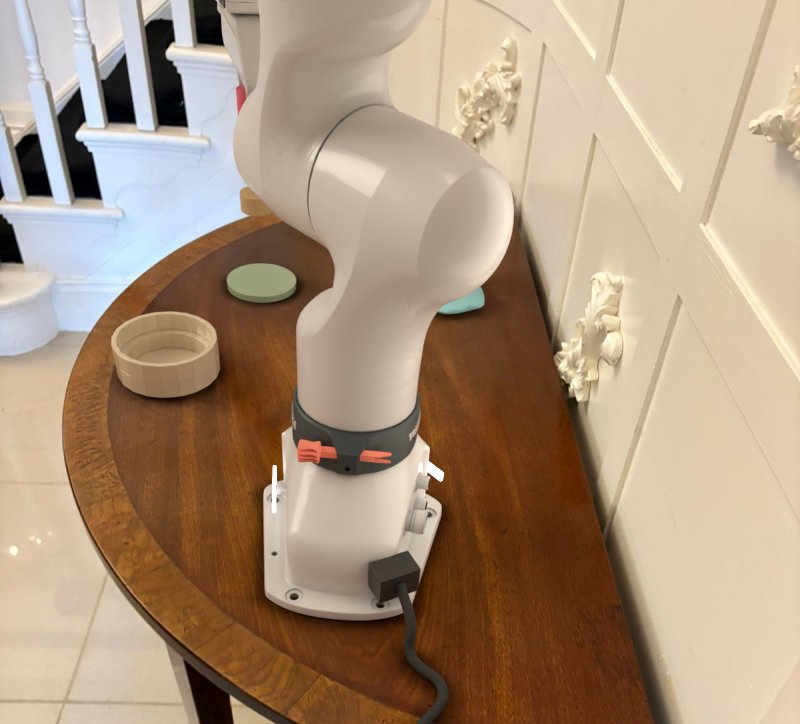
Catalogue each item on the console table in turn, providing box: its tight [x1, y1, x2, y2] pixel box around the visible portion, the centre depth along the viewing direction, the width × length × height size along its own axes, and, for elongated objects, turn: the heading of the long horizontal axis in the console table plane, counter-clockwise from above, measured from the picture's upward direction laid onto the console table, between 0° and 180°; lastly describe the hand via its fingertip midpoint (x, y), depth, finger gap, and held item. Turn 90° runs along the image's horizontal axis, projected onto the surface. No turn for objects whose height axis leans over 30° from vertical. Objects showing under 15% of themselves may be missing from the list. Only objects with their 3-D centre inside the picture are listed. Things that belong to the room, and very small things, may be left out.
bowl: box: [110, 310, 221, 399], centre depth 96 cm, size 12×12×5 cm
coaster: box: [226, 262, 297, 304], centre depth 114 cm, size 10×10×1 cm
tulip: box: [235, 84, 273, 217], centre depth 102 cm, size 4×4×15 cm
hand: (251, 110), depth 98 cm, fingers closed on tulip, 3 cm apart
